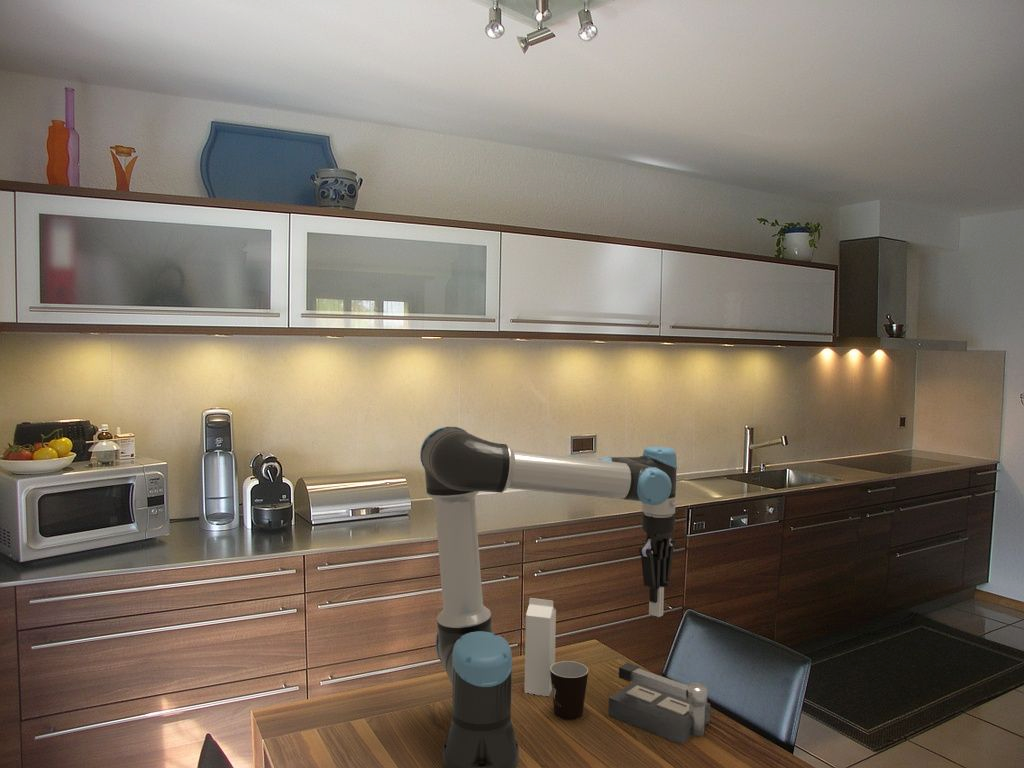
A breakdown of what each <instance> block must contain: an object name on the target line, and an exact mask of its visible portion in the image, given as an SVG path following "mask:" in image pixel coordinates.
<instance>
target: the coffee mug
mask: <svg viewBox="0 0 1024 768" xmlns="http://www.w3.org/2000/svg"><path fill="white" fill-rule="evenodd" d="M550 675H551V685H552V691H551V693H552V694H551V695H552V704H553V705H552V706H553V712H554V715H555V716H556V717H557V718H558V719H562V720H565V721H574V720H578V719H580V718H581V717H582V716H583V713H584V707H585V700H586V691H587V683H588V677H589V668H588V666H587V665H585V664H583V663H581V662H577V661H574V660H573V661H572V660H562V661H557V662H556V661H555V663H554V664H552V665H551V666H550Z"/></svg>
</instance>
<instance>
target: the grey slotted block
mask: <svg viewBox="0 0 1024 768" xmlns="http://www.w3.org/2000/svg"><path fill="white" fill-rule="evenodd" d="M608 716H609V717H612V718H614V719H617V720H620V721H622V722H625V723H626V724H629V725H632V726H634V727H637V728H639V729H642V730H644V731H647V732H648V733H651V734H654V735H657V736H659V737H661V738H664V739H665V740H668V739H669V741H671V742H674V743H676V744H679V745H684V744H685V743H686V742H687V741H688V740H690V739H691V738H692V737H696V736H701V737H703V736H704V735H705V726H706V725H707V724H709V723H710V722H711V703H709V702H707V703H706V704H705V705H694V704H691V703H690V702H688V698H687V699H683V698H680V697H677V696H674V695H672V694H669V693H666V692H663V691H661V690H658V689H655V688H652V687H649V686H647V685H644V684H641V683H638V682H636V681H632V682H631V683H630V684H628V685H627V686H625V687H623V688H622V689H620V690H619V691H617V692H616V693H614V694H612V695H611V696H609V697H608ZM708 722H709V723H708ZM692 735H694V736H692ZM702 735H703V736H702ZM691 736H692V737H691ZM690 737H691V738H690Z"/></svg>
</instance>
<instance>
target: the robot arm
mask: <svg viewBox="0 0 1024 768" xmlns="http://www.w3.org/2000/svg"><path fill="white" fill-rule="evenodd" d="M642 452H643V453H642V455H640V456H614V457H613V456H608V457H600V458H599V457H598V458H597V459H589V458H582V457H574V456H564V455H559V454H557V455H555V454H549V453H540V452H530V451H521V450H514V449H512V448H511V447H510V446H509V445H508V444H506V443H497V442H493V441H489V440H486V439H482V438H480V437H478V436H476V435H474V434H472V433H469V432H467V430H464V429H463V428H461V427H458V426H442V427H438V428H436V429H434V430H433V431H431V432H430V433H429V434H427V436H426V437H425V439H424V440H423V442H422V444H421V448H420V454H419V455H420V458H419V459H420V463H421V465H422V467H423V468H424V477H425V487H426V494H427V496H428V497H430V499H432V500H433V501H434V509H435V510H434V511H435V521H436V534H437V550H438V559H439V571H440V573H439V574H440V582H441V584H440V585H441V597H442V610H441V611H440V612H439V613H438V614H437V617H436V622H437V623H436V624H437V632H436V637H435V650H436V653H437V657H438V659H439V661H440V662H441V664H442V665H443V667H444V671H445V673H446V675H447V678H448V679H449V681H450V685H451V691H452V692H451V693H452V694H451V696H452V697H451V703H452V704H451V721H450V725H449V728H448V732H447V734H446V738H445V740H444V742H443V746H442V764H443V766H444V768H517V766H518V764H519V761H520V747H519V743H518V741H517V739H516V734H515V731H514V728H513V723H512V718H511V715H512V713H511V711H512V677H513V676H512V670H513V655H512V648H511V645H510V644H509V642H508V641H507V640H506V639H505V638H504V637H502V636H501V635H496V634H495V633H493V625H492V612H491V610H490V609H489V608H488V607H486V606H485V605H484V599H483V588H482V575H481V574H482V573H481V562H480V548H479V547H480V546H479V537H478V536H479V534H478V524H477V523H478V520H477V509H476V496H477V495H478V494H479V492H481V493H482V492H483V493H484V492H486V493H497V494H499V493H501V494H502V493H504V492H505V491H506V490H507V489H509V490H510V489H511V490H522V491H523V490H524V491H532V492H533V491H534V492H535V491H536V492H544V493H545V492H546V493H554V494H555V493H557V494H564V495H565V494H566V495H573V496H574V495H577V496H584V497H585V496H586V497H587V496H589V497H596V498H597V497H599V498H608V499H618V500H626V501H635V502H640V503H642V504H641V505H642V506H641V512H643V513H642V515H641V530H642V531H643V532H645V534H646V537H645V540H644V541H645V545H644V546H643V547H642V546H640V547H639V548H638V553H639V555H640V558H641V571H642V580H643V586H644V587H646V588H648V589H649V591H648V592H649V597H648V599H649V603H648V608H649V609H648V615H650V616H654V617H657V618H660V617H662V616H664V604H665V603H664V600H665V599H664V598H665V588H668V587H669V586H670V585H669V583H667V582H670V579H671V572H672V565H673V558H674V557H673V556H674V549H675V546H676V543H677V542H676V539H674V538H671V534H672V533H674V532H675V531H676V517H675V515H674V514H676V507H677V502H676V494H677V493H676V490H677V470H678V465H677V452H676V451H675V448H672V447H668V446H656V445H655V446H646V447H645V448H644V449H643V451H642Z"/></svg>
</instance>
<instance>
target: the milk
mask: <svg viewBox="0 0 1024 768" xmlns="http://www.w3.org/2000/svg"><path fill="white" fill-rule="evenodd" d="M528 599H529V600H528V603H529V604H528V607H527V610H526V613H525V641H524V642H525V645H524V647H525V648H524V651H525V652H524V653H525V654H524V694H527V693H529V695H533V694H535V696H540V695H542V696H541V697H546V696H548V697H547V698H549V697H550V695H551V693H552V685H551V675H550V666H551V665H552V664H554V663H556V631H557V629H556V624H557V623H556V621H557V620H556V619H557V609H556V608H555V607H554V600H551V599H544V598H543V599H542V598H533V597H530V598H528Z"/></svg>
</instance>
